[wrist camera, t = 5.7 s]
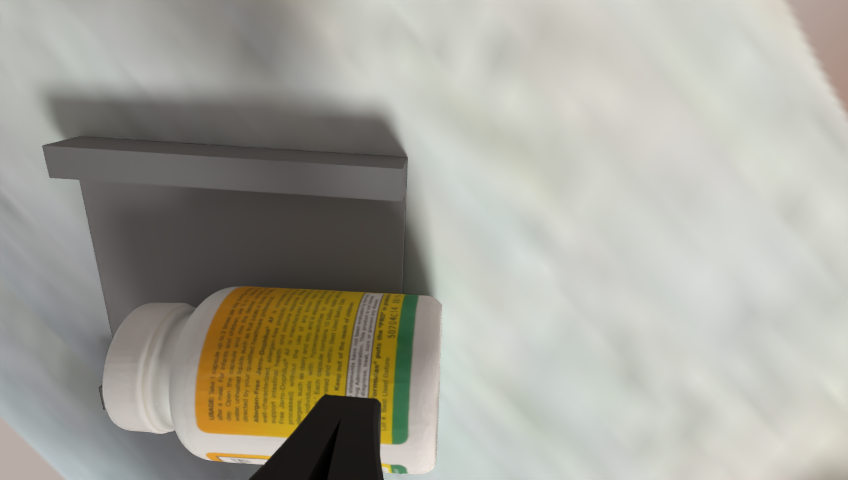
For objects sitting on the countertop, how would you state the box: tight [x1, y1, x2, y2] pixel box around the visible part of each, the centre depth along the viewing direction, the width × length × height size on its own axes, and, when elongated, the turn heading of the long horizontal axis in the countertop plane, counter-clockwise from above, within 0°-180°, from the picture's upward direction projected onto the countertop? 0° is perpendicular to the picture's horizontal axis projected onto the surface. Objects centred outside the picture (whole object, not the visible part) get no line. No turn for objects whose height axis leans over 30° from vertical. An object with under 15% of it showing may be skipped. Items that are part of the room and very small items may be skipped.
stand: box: [42, 136, 408, 410], centre depth 18 cm, size 10×11×2 cm
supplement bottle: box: [102, 286, 442, 474], centre depth 16 cm, size 5×5×10 cm
